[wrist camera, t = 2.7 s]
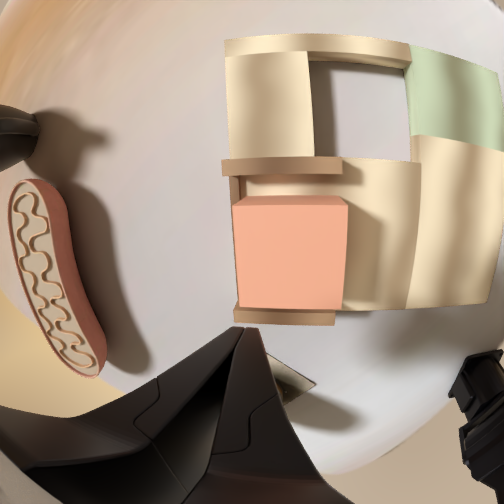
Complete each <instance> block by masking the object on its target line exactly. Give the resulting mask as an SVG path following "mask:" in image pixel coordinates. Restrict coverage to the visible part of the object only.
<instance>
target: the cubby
mask: <svg viewBox="0 0 504 504" xmlns="http://www.w3.org/2000/svg"><path fill="white" fill-rule="evenodd" d="M260 174H342V157H321V156H295V157H260V158H241V159H226V160H222V176H229V184H230V200H231V215H232V229H233V243H234V256H235V269H236V282H237V294H238V301H237V303H236V305H235V308H234V310H233V313H234V322H238V323H255V324H277V325H319V326H334V324H335V315H336V312H335V309H280V308H253V307H240V305H239V293H238V280H237V268H236V254H235V240H234V226H233V211H232V206H233V205H234V204H236V203H237V202H239V201H240V200H241V188H240V175H260Z"/></svg>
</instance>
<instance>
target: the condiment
mask: <svg viewBox="0 0 504 504" xmlns="http://www.w3.org/2000/svg"><path fill="white" fill-rule="evenodd" d="M267 357H268V360H269V364H270V367H271V370H272V373H273V376H274V379H275V382H276V385H277V389H278V392H279V395H280V397H281V401H282V404H283V406H284V405H285V404H287V403H289V402H291V401H293V400H294V399H295V398H296V397H298V396H299V395H301V394H302V393H304V392H306V391H307V390H309V389H310V388H312V387H313V386H314V384H313V383H311V382H310V381H309V380H307V379H306V378H304V377H303V376H301V375H299V374H298V373H297V372H295V371H294V370H292V369H290V368H289V367H287V366H285V365H284V364H283V363H281V362H279V361H277V360H276V359H274V358H273V357H271V356H270V355H268V354H267Z"/></svg>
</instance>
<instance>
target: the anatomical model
mask: <svg viewBox="0 0 504 504" xmlns="http://www.w3.org/2000/svg"><path fill="white" fill-rule="evenodd" d="M7 219H8V228H9V235H10V240H11V246H12V251H13V255H14V260H15V264H16V267H17V271H18V275H19V278H20V281H21V284H22V287H23V290H24V293H25V295H26V298H27V301H28V303H29V305H30V308H31V310H32V312H33V314H34V317H35V319H36V321H37V323H38V325H39V327H40V329H41V330H42V332H43V334H44V336H45V338H46V340H47V341H48V343H49V345H50V347H51V348H52V349H53V351H54V353H55V354H56V355H57V357H58V358H59V359H60V360H61V361H62V362H63V363H64V364H65V365H66V366H67V367H68V368H70V369H71V370H72V371H73V372H75V373H77V374H78V375H80V376H82V377H85V378H95V377H96V376H98V375H99V373H100V371H101V370H102V368H103V367H104V364H105V361H106V358H107V342H106V338H105V334H104V332H103V330H102V328H101V326H100V324H99V322H98V320H97V318H96V316H95V314H94V312H93V310H92V307H91V305H90V303H89V301H88V299H87V296H86V293H85V291H84V288H83V285H82V282H81V279H80V276H79V272H78V269H77V265H76V261H75V257H74V253H73V247H72V241H71V234H70V227H69V219H68V211H67V207H66V204H65V202H64V200H63V198H62V196H61V195H60V193H59V192H58V191H57V190H56V189H55V188H54V187H53V186H52V185H50V184H49V183H47V182H45V181H42V180H38V179H25V180H21V181H19V182H18V183H17V184H16V185H15V186H14V187H13V189H12V191H11V193H10V196H9V201H8V208H7Z"/></svg>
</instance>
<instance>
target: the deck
mask: <svg viewBox="0 0 504 504" xmlns="http://www.w3.org/2000/svg"><path fill="white" fill-rule="evenodd" d="M224 43H225V69H226V93H227V113H228V133H229V151H230V159H241V158H260V157H295V156H314V134H313V117H312V102H311V89H310V78H309V67H308V61H335V62H351V63H363V64H372V65H380V66H388V67H394V68H400V69H403V72H404V78H405V86H406V94H407V103H408V114H409V128H410V153H411V162H406V161H395V160H383V159H367V158H345V157H342V174H260V175H240V188H241V200H242V199H243V198H245V197H246V196H266V195H338V196H339V197H340V198H341V199H342V200H343V201H344V202H345V203H346V204H347V205H348V223H347V245H346V261H345V274H344V286H343V296H342V305H341V309H335V311H362V310H398V309H414V308H432V307H446V306H459V305H471V304H481V303H486V302H487V299H488V295H489V292H490V288H491V284H492V281H493V277H494V272H495V268H496V264H497V259H498V254H499V249H500V243H501V237H502V231H503V223H504V110H503V102H502V96H501V90H500V84H499V79H498V74H497V73H496V72H494V71H491V70H489V69H487V68H484V67H482V66H479V65H477V64H474V63H471V62H469V61H466V60H463V59H460V58H457V57H454V56H451V55H448V54H444V53H441V52H437V51H434V50H430V49H426V48H422V47H418V46H413V45H409V44H406V43H401V42H396V41H390V40H384V39H378V38H370V37H361V36H351V35H338V34H277V35H263V36H253V37H244V38H236V39H229V40H224Z"/></svg>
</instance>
